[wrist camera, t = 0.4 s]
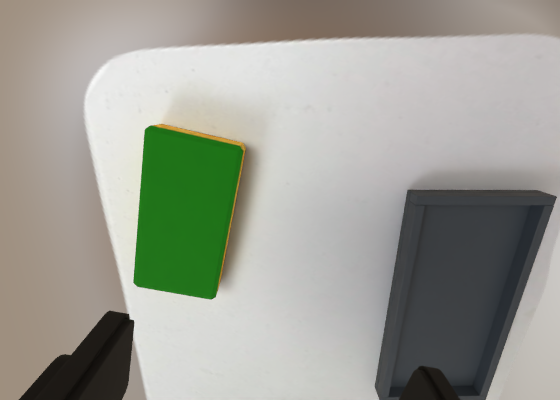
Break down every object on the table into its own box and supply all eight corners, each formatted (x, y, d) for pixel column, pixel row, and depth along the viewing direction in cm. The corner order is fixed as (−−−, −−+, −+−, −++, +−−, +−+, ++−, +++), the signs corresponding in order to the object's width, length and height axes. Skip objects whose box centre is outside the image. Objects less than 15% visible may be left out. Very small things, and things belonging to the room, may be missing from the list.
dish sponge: (145, 270, 26) (132, 286, 23) (158, 122, 22) (144, 124, 19) (219, 284, 26) (214, 301, 24) (246, 143, 22) (243, 147, 20)
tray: (407, 189, 24) (417, 196, 22) (537, 190, 24) (557, 196, 22) (374, 386, 31) (380, 402, 30) (473, 385, 32) (485, 401, 30)
